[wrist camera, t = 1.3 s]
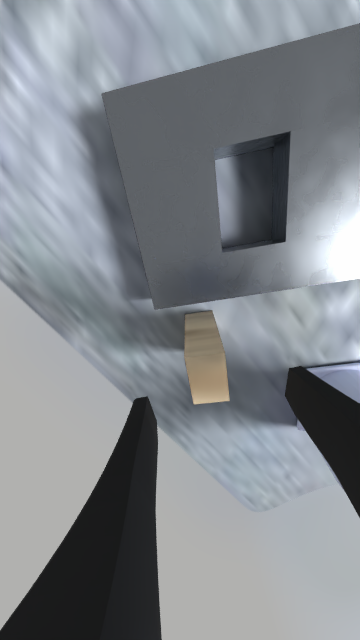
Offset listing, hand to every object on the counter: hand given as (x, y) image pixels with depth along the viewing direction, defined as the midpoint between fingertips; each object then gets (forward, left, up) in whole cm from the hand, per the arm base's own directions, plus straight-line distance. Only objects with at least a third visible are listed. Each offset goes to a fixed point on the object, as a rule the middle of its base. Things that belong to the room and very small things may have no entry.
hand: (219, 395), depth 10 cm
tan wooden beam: (-2, +1, -10) cm, 10 cm away
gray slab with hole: (+9, -4, -10) cm, 14 cm away
